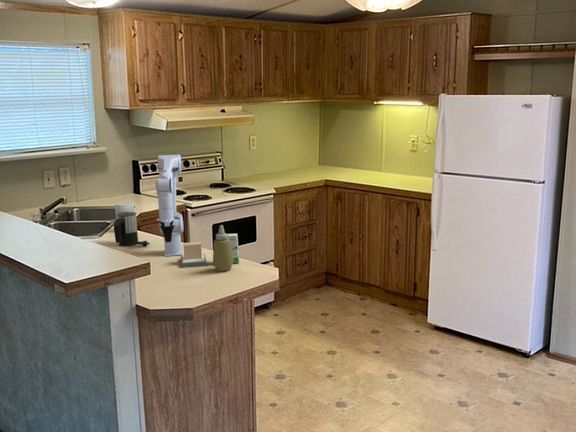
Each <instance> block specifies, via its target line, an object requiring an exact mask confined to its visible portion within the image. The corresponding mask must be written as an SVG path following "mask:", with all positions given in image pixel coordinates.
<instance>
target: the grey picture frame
mask: <svg viewBox="0 0 576 432" xmlns="http://www.w3.org/2000/svg"><path fill="white" fill-rule="evenodd" d="M180 261H181V267H182V269H183V268H194V267H206V266H208V261H207V257H206V253H204V252H202V258H199V259H186V260H185V258H184V253H183V255H180Z"/></svg>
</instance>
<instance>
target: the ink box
mask: <svg viewBox="0 0 576 432" xmlns="http://www.w3.org/2000/svg"><path fill="white" fill-rule="evenodd" d="M227 234H228V238H227V239H229V240H230V242H231V248H232V255H233V263H232V265H233V264H234V265H235V264H236V265H237V264H240V258H239V257H240V255H239V239H238V238H239V237H238V233H227Z"/></svg>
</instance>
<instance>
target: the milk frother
mask: <svg viewBox="0 0 576 432" xmlns="http://www.w3.org/2000/svg"><path fill="white" fill-rule="evenodd" d="M117 215H118V219H117V220H116V219H115V221H114V222H113V230H114V231H113V233H114V239H115V243H117V244H118V246H120V247H121V246H122V247H132V246H136V245H137V246H143V247H147V246H148V245H150V242H148V241H147V240H141V241H140V240H139V237H138V225H137V224H138V223H137V221H138V220H137V212H135V211H134V212H124V213H119V214H117Z"/></svg>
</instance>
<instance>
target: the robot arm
mask: <svg viewBox="0 0 576 432" xmlns="http://www.w3.org/2000/svg"><path fill="white" fill-rule="evenodd" d="M157 167H158V170H159V173H158V178H157V180H156V179H155V191H156V196H157V203H158V216H159V217H157V218H156V221H157V222H158V221H159V232H160V234H162V235H163V242H164V250H163V256H164V257H168V256H169V257H170V256H171V257H172V256H181V255H183V254H184V250H183V248H182V237H181V234H182V233H183V232H184V219H183V218H184V217H183V215H182V214H181V213H180V212H178V211H177V179H178V176H180V175H181V174H182V156H181V155H180V154H179V153H178V154H165V155H162V154H159V155H158V156H157Z"/></svg>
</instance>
